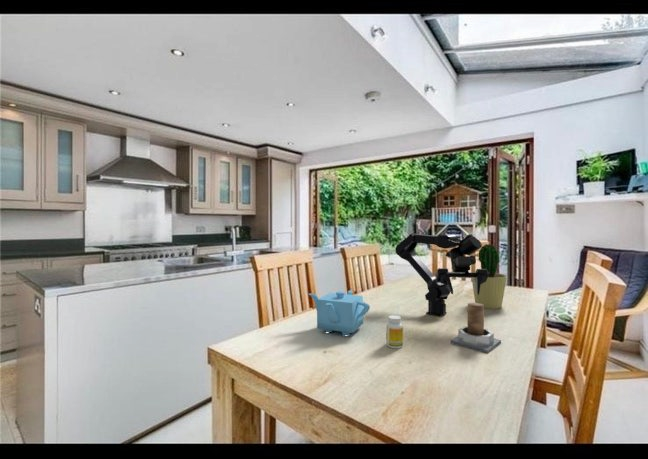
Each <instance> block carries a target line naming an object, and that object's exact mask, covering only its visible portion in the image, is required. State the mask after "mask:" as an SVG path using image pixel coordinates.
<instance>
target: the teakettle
mask: <svg viewBox="0 0 648 459" xmlns="http://www.w3.org/2000/svg"><path fill="white" fill-rule="evenodd" d="M353 292H354V291H353V290H352V289H350V290H348V291H347V293H346V292H345V291H341V290H340V291H336V292H329V293H327V294H325V295H323V296H321V297H319V296H318V295H317V294H315V293H308V295H309V296H310V297H311V298H312V299H313V301H314V305H315V310H316V328H317V329H319V330H324V332H325V331H326V332H332V333H333V331H334V332H341V335H342V334H343V335H349V334H350V335H351V334H354V333H355V332H356V331H357V330H358V329H359V328H360V327H361V326H362V325H363V324H364V316H365V315H366V314H368V312H369V310H370V308H371V306H370V304H369V303H367V302H364V296H363V295H357V294H353Z"/></svg>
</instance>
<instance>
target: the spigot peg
mask: <svg viewBox="0 0 648 459" xmlns="http://www.w3.org/2000/svg"><path fill="white" fill-rule="evenodd" d="M484 316H485V308H484V305H483V304H480V303H475V302H468V303H467V326H468V330H467V333H468V334H472V335H484V328H485V317H484Z"/></svg>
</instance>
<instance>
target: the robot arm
mask: <svg viewBox="0 0 648 459" xmlns="http://www.w3.org/2000/svg"><path fill="white" fill-rule="evenodd" d="M418 243H419V244H425V245H426V244H428V245H433V246H436V247H438V248H441V249H450V250H448V251H447V252H446V254H445V257H447V258H449V259H450V264H451V269H452V271H449V268H445V267H444V268H442V267H441V268H437V269H436V272H435V274H434V273H433V272H432V271H431V270H430V269H429V268H428V266H427V265H426V264H425V263H424V262H423V261H422V260H421V259H420V258H419V257H418V255H417V251H416V248H417V247H418ZM482 247H483V244H482V242H481V241H480V239H478V238H477V237H475V236H474V235H473V233H472V234H470V233H469V234H467V235H466V236H465V237H464V238H463V239H461V238H458V237H457V235H456V234H444V235H443V234H442V235H430V234H419V233H410V234H409V235H407V237H406V238H404V239H403V240H401V241H400V242H399V243H397V245H396V246H395V253H396V255H397V256H399V257H400V259H402V260H404V261H407V262H408V263H409V264H410V265H411V267H412V268H413V270H415V271H416V273H417V274H418V275H419V276H420V277H421V278H422V280H423V281H424V282H425V284H426V287H427V290H428V292H427V293H426V294H425V295H424V298H425V300H426V301H428V303H427V304H428V305H427V306H428V307H427V308H428V310H427V311H426V314H428V315H432V316H436V317H442V316H444V315H446V314H447V304H446V300H447V299H448V297H449V295H450V294H451V295H454V288H453V284H452V280H451V278H458V279H472V278H474V280H475V287H476V292H477V295H479V292H480V285H481V284H483V283H484V282H486V280H487V278H488V276H489V272H488V270H487V269H482V268H476V270H475V272H469V271H470V270H471V266H473V265H475V264H477V258H476V256H475V255H472V254H474V253H476V252H477V251H479V250H480V248H482Z"/></svg>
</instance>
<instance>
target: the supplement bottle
mask: <svg viewBox="0 0 648 459" xmlns="http://www.w3.org/2000/svg"><path fill="white" fill-rule="evenodd" d="M385 327H386V330H385V331H386V332H385V333H386V334H385V335H386V340H385V343H386V346H387V347H388V348H391V349H401V348H402V347H404V346H403V345H404V325H403V324H402V317H401V316H400V315H388V322H387V323H386V326H385Z"/></svg>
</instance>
